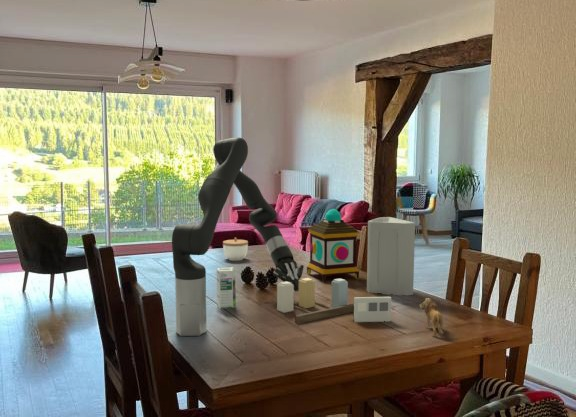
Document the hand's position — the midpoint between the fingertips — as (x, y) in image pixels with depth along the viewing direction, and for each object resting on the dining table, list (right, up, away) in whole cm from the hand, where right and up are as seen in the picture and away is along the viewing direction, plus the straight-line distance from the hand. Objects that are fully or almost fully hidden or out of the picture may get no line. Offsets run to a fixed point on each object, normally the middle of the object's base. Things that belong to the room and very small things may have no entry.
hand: (298, 290), depth 200 cm
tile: (+24, -8, -16) cm, 30 cm away
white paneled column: (+35, -4, +24) cm, 42 cm away
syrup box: (-25, -6, -3) cm, 26 cm away
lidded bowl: (-30, +3, +84) cm, 90 cm away
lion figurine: (+41, -9, -25) cm, 49 cm away
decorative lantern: (+16, -1, +47) cm, 50 cm away
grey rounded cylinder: (+14, -5, -4) cm, 16 cm away
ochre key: (+3, -5, -4) cm, 7 cm away
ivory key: (-5, -6, -9) cm, 11 cm away
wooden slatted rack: (+5, -7, -7) cm, 11 cm away
